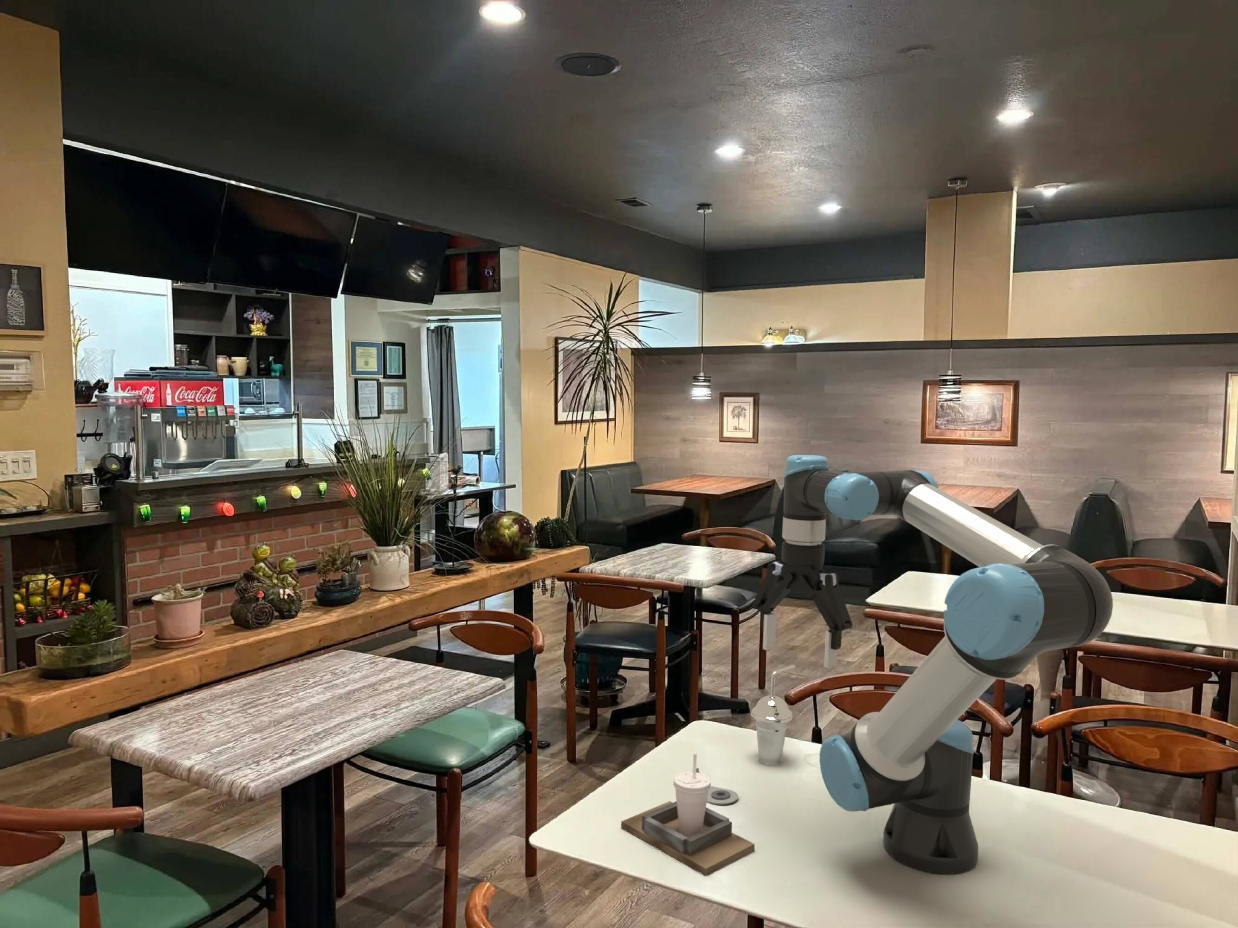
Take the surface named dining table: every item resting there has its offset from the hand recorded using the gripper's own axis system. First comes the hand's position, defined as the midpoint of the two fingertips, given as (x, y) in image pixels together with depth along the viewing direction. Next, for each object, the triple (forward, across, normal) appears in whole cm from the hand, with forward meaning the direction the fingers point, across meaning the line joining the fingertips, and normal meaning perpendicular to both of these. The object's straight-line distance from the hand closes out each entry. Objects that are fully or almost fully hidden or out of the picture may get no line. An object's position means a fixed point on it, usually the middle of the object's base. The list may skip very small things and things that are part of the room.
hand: (798, 657), depth 163 cm
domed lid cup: (+29, +16, -14) cm, 36 cm away
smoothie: (+28, +4, +23) cm, 36 cm away
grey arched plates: (+29, +14, +7) cm, 33 cm away
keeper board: (+29, +5, +23) cm, 37 cm away
